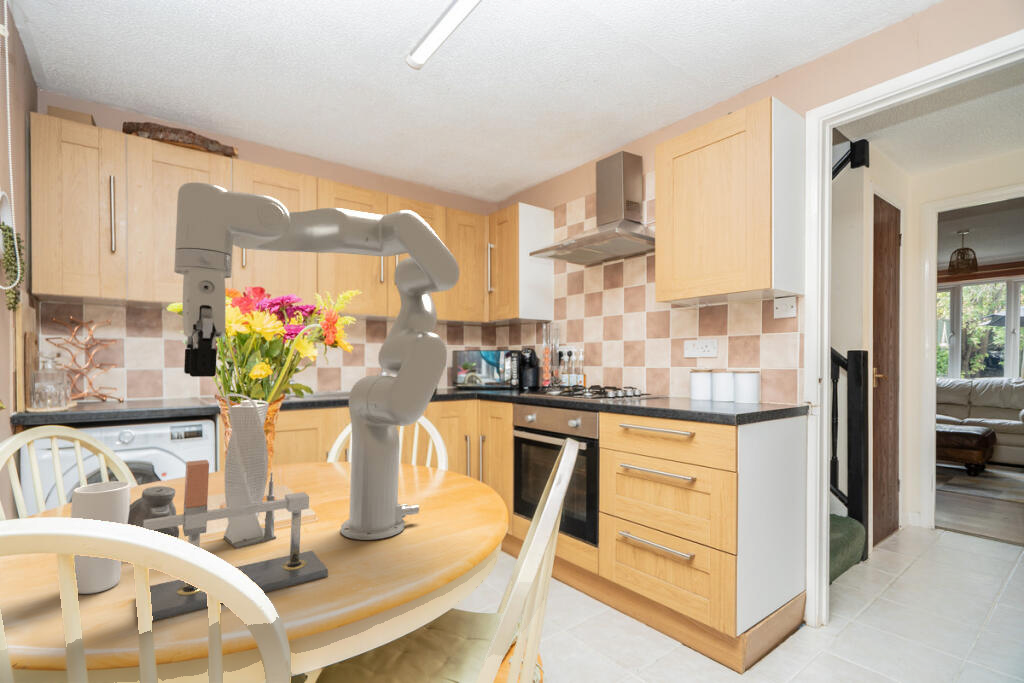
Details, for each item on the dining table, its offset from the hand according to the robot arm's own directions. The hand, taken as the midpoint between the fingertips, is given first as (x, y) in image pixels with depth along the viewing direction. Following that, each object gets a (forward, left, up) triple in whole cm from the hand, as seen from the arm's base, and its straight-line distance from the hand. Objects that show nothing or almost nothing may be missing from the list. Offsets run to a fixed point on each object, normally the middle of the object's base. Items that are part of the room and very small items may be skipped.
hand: (199, 374), depth 74 cm
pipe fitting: (+4, -22, -32) cm, 40 cm away
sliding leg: (0, +4, -30) cm, 31 cm away
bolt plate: (-6, +4, -32) cm, 33 cm away
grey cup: (+11, -7, -32) cm, 35 cm away
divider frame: (-5, +4, -31) cm, 32 cm away
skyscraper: (-10, -16, -32) cm, 38 cm away
